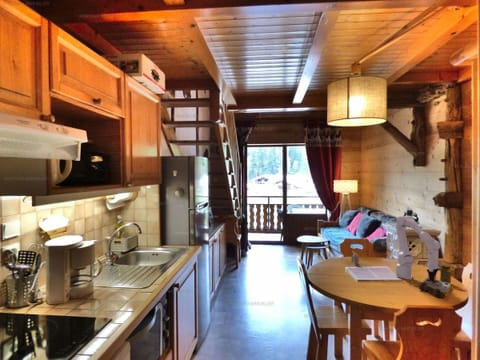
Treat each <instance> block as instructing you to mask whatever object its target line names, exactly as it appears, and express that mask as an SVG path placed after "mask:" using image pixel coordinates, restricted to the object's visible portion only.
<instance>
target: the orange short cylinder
mask: <svg viewBox="0 0 480 360" xmlns="http://www.w3.org/2000/svg"><path fill="white" fill-rule="evenodd" d="M427 274H428V273H427ZM427 278H428V282H431V283H436V280H437V274H436V275H435V279H434V281H430V279H429V274H428V275H427Z"/></svg>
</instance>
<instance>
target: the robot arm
mask: <svg viewBox="0 0 480 360" xmlns="http://www.w3.org/2000/svg"><path fill="white" fill-rule="evenodd" d="M395 221H396V226H395V228H396V234H397V235H396V236H397V240H398V246H399V252H398V254H397V262H398V263H397V264H396V269H395V271H396V272H395V277H396V276H397V277H396V278H401V279H404V280H409V281H410V280H412V278H413V275H412V266H413V264H414V262H415V258H414V257H413V253H412V252H410V251H409V245H408V240H407V238H408V237H407V233H406V228H408V227H410V228H411V229H412V230H413V231H415V233H417V235H418V237H419V239H420V240H421V241H422V242H423V243H424V244H425V246H426V249H427V269H426V272H427V274H429V279H430V281H434V279H435V275H436V276H437V274H438V271H439V269H441V266H439V250H440V249H441V247H442V246H441V243H440V242H439V240H436V239H434V238H433V237H432V236H431V235H430V233H429V232H427V231H423V229H422V228H421V227H420V226H419V225H418V224H417V222H416V220H415V218H413V216H412V215H405V216H404V215H403V216H398V217H397V218H396V220H395Z"/></svg>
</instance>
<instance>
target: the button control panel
mask: <svg viewBox="0 0 480 360" xmlns="http://www.w3.org/2000/svg"><path fill="white" fill-rule="evenodd" d="M422 282H425V283H426V284H427V286H429V287H432V288H434V289H440V291H441V292H443V293H446V292H447V294H448V293H449V291H450V289H451V285H450V284H449V283H448V282H442V281H440V280H439V279H436V283H431V282H428V277H425V278H424V280H423V281H422Z"/></svg>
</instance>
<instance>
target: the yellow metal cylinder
mask: <svg viewBox="0 0 480 360" xmlns="http://www.w3.org/2000/svg"><path fill="white" fill-rule="evenodd" d="M439 275H440V277H439V279H440V281H442V282H448V283H449V284H451V283H452V282H451V280H452V270H451V266H450V265H448V264H441V266H440V273H439ZM451 285H452V284H451Z"/></svg>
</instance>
